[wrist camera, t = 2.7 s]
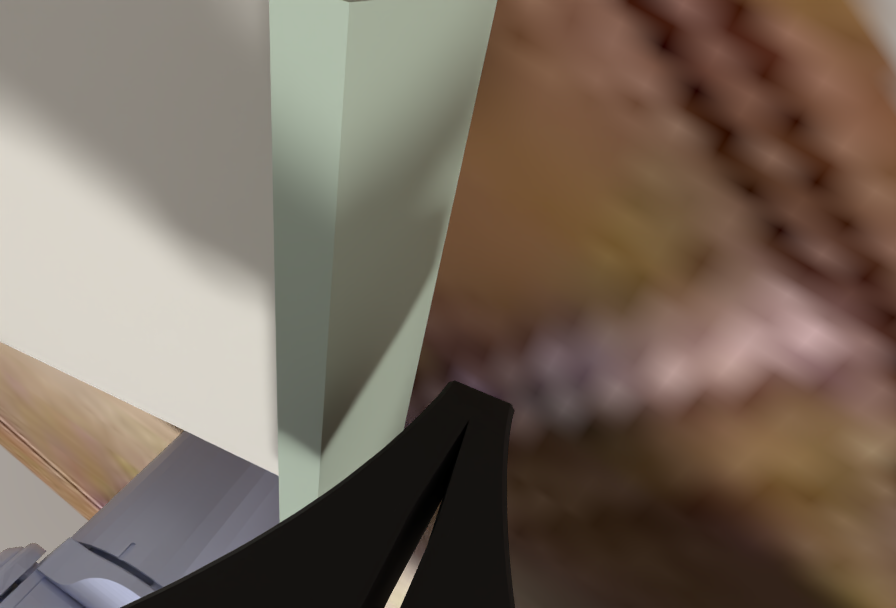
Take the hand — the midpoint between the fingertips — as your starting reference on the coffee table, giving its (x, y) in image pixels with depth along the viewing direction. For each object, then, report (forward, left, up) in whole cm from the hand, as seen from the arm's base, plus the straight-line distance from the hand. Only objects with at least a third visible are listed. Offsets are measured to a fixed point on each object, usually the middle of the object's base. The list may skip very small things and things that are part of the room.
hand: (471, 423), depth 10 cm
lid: (0, +12, -4) cm, 13 cm away
